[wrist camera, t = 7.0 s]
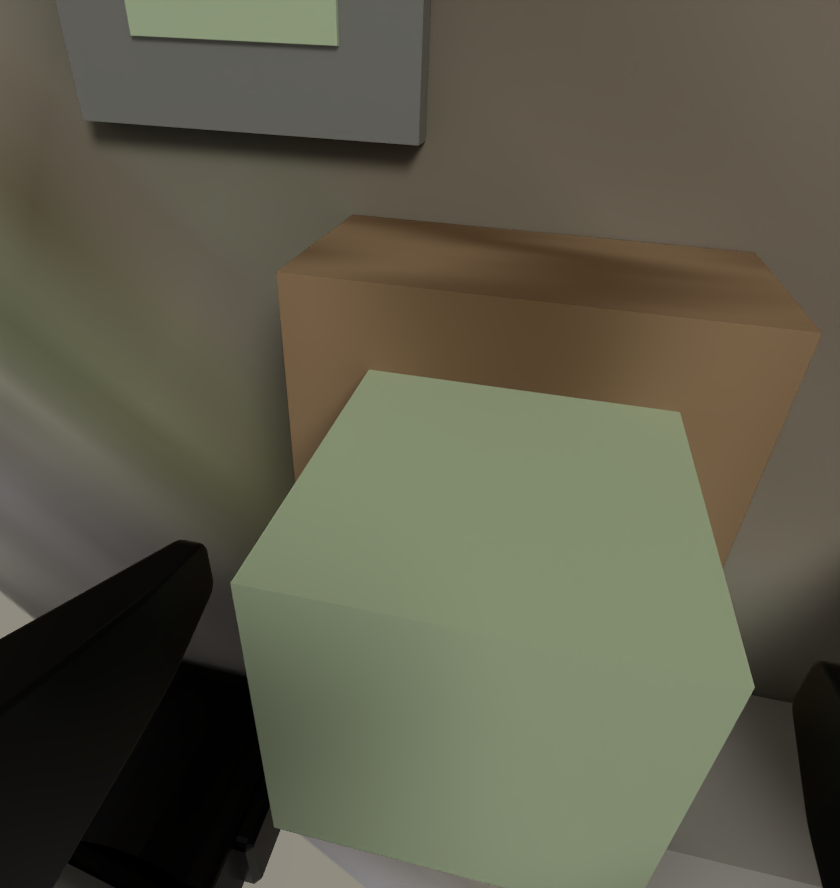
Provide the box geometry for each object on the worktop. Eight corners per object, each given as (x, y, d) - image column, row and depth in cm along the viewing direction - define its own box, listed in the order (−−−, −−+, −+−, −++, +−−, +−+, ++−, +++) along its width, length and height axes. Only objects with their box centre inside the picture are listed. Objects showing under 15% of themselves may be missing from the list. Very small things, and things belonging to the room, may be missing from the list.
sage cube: (369, 582, 13) (273, 826, 9) (369, 369, 10) (229, 583, 6) (611, 628, 12) (627, 920, 8) (680, 411, 10) (755, 688, 5)
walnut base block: (358, 509, 17) (307, 617, 14) (352, 214, 13) (276, 271, 10) (652, 559, 16) (670, 690, 13) (754, 252, 12) (822, 333, 9)
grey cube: (599, 760, 21) (603, 929, 17) (633, 669, 19) (647, 844, 15) (751, 794, 21) (795, 980, 17) (810, 704, 18) (879, 901, 14)
